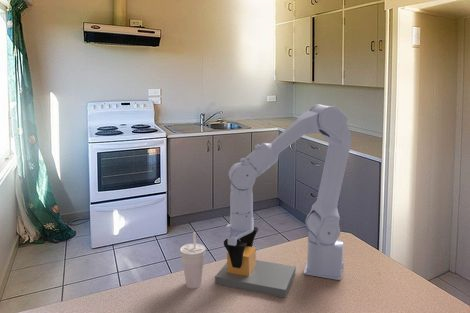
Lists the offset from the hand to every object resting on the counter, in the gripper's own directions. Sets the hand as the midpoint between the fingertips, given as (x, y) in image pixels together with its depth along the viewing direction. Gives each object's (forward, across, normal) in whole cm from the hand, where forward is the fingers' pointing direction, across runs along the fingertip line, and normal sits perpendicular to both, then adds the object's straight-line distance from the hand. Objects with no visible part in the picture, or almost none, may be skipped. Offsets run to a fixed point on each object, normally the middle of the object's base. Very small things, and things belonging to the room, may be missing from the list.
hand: (241, 260), depth 96 cm
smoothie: (+5, +8, -10) cm, 14 cm away
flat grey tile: (+4, 0, +4) cm, 6 cm away
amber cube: (+2, 0, 0) cm, 2 cm away
